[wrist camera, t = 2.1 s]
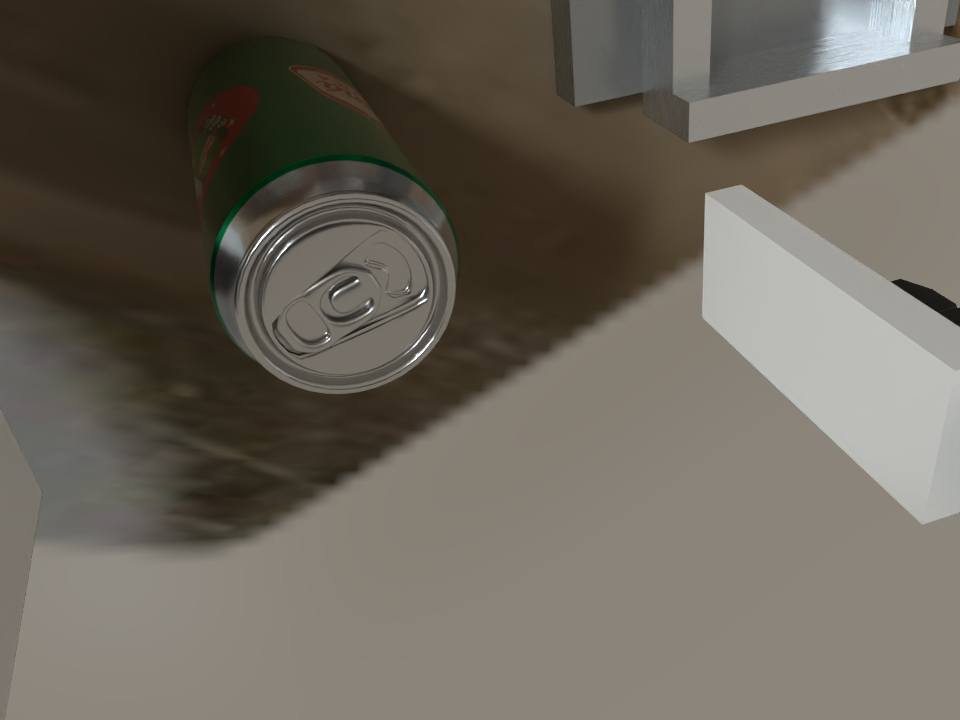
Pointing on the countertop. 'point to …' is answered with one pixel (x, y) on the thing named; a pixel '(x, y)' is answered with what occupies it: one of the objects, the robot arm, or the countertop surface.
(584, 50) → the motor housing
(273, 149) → the soda can
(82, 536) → the countertop surface
